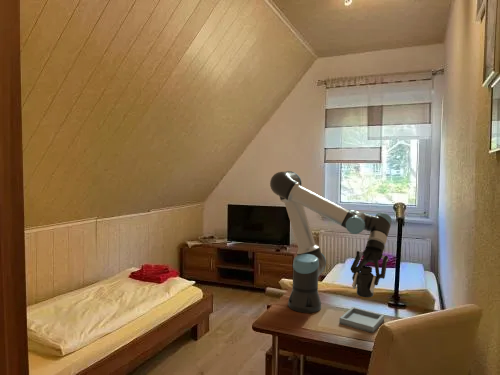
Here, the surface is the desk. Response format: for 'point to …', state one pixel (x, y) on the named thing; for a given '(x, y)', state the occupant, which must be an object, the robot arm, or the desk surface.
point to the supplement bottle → (364, 281)
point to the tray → (362, 319)
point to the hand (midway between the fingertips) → (362, 289)
